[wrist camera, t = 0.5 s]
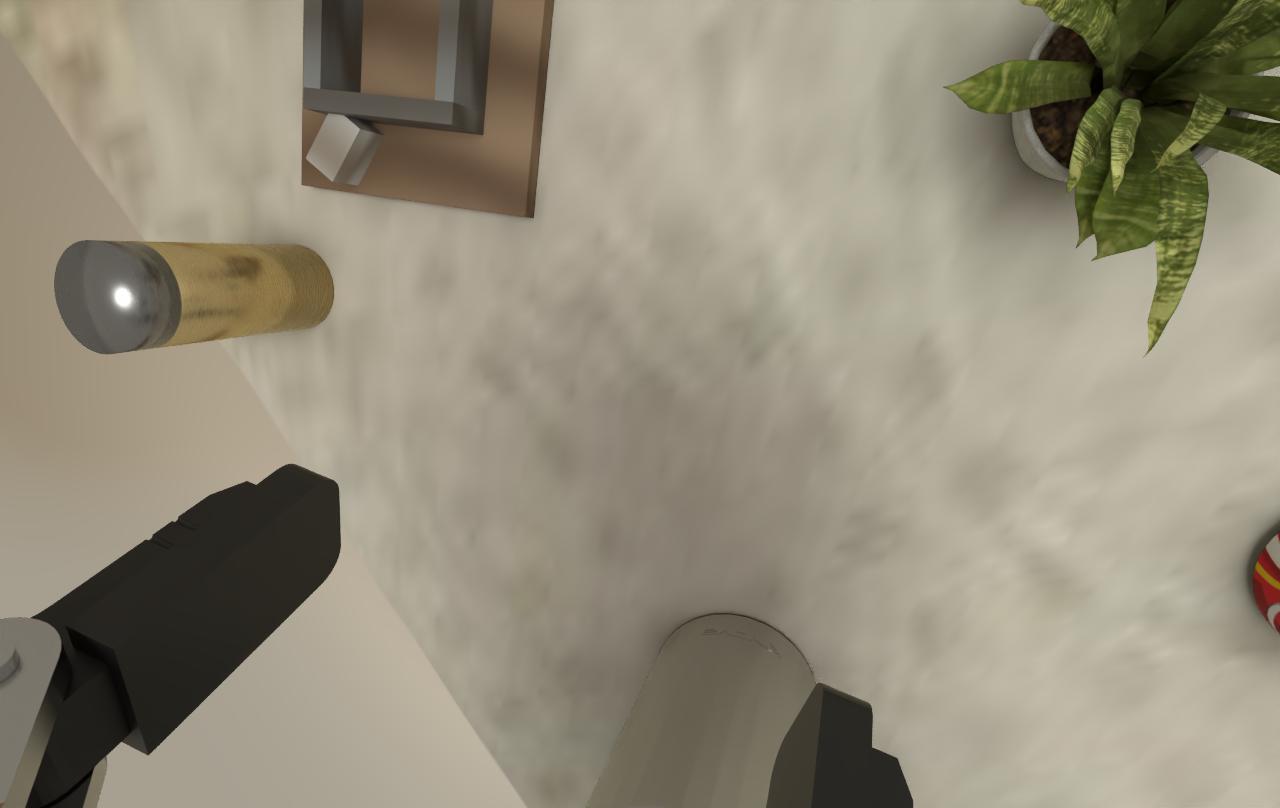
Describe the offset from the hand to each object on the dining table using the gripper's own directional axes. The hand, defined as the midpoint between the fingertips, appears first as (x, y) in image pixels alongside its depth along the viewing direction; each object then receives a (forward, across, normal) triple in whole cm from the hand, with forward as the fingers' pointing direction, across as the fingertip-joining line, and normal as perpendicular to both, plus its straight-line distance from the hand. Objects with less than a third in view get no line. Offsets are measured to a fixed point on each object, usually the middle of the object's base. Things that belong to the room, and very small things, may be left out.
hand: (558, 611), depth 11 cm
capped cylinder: (+24, -26, -12) cm, 38 cm away
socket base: (+28, -21, +2) cm, 35 cm away
